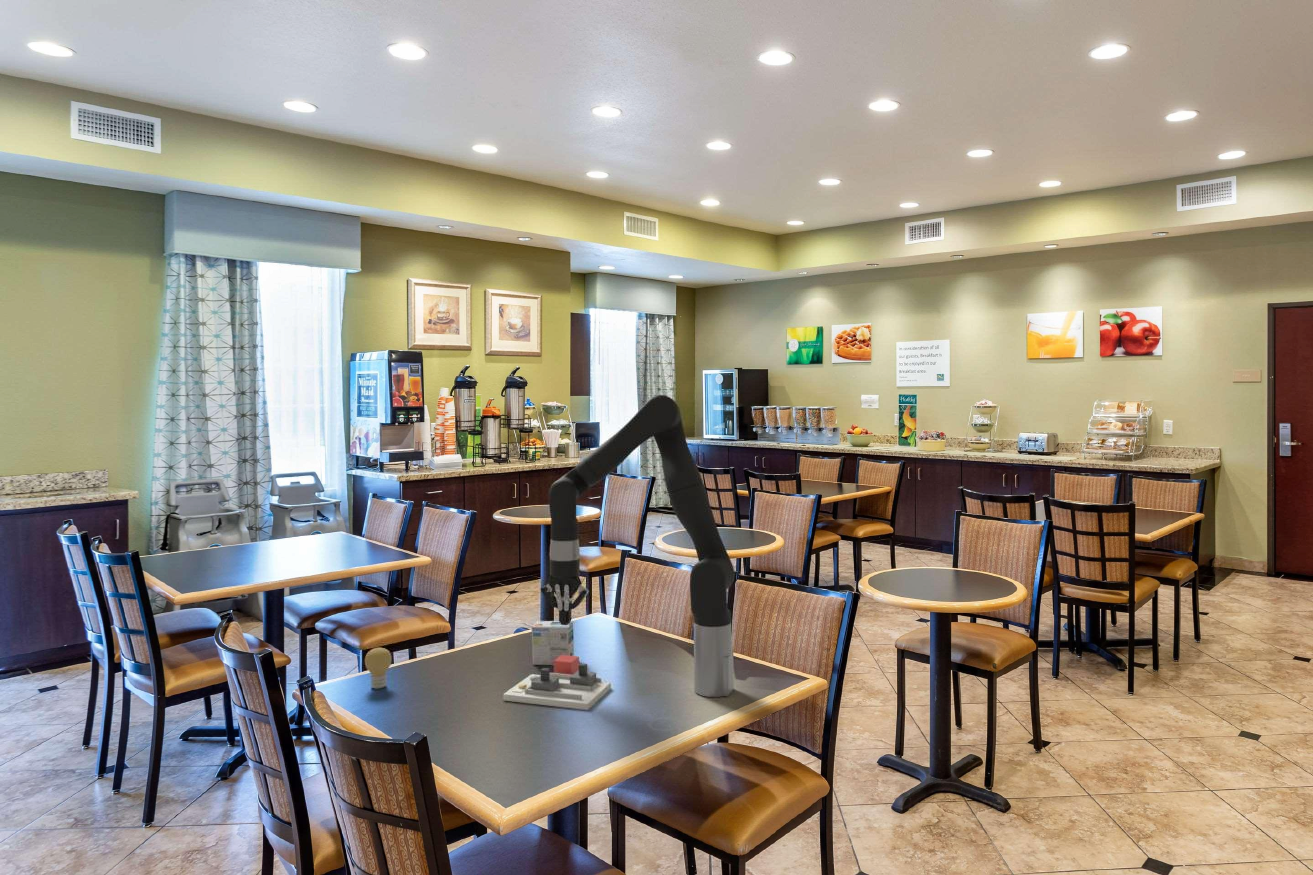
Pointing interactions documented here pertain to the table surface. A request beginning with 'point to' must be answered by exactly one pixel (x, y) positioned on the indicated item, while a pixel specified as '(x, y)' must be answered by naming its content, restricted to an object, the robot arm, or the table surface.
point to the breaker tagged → (545, 681)
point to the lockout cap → (566, 664)
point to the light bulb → (378, 666)
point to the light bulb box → (551, 641)
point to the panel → (562, 690)
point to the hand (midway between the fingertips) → (565, 624)
